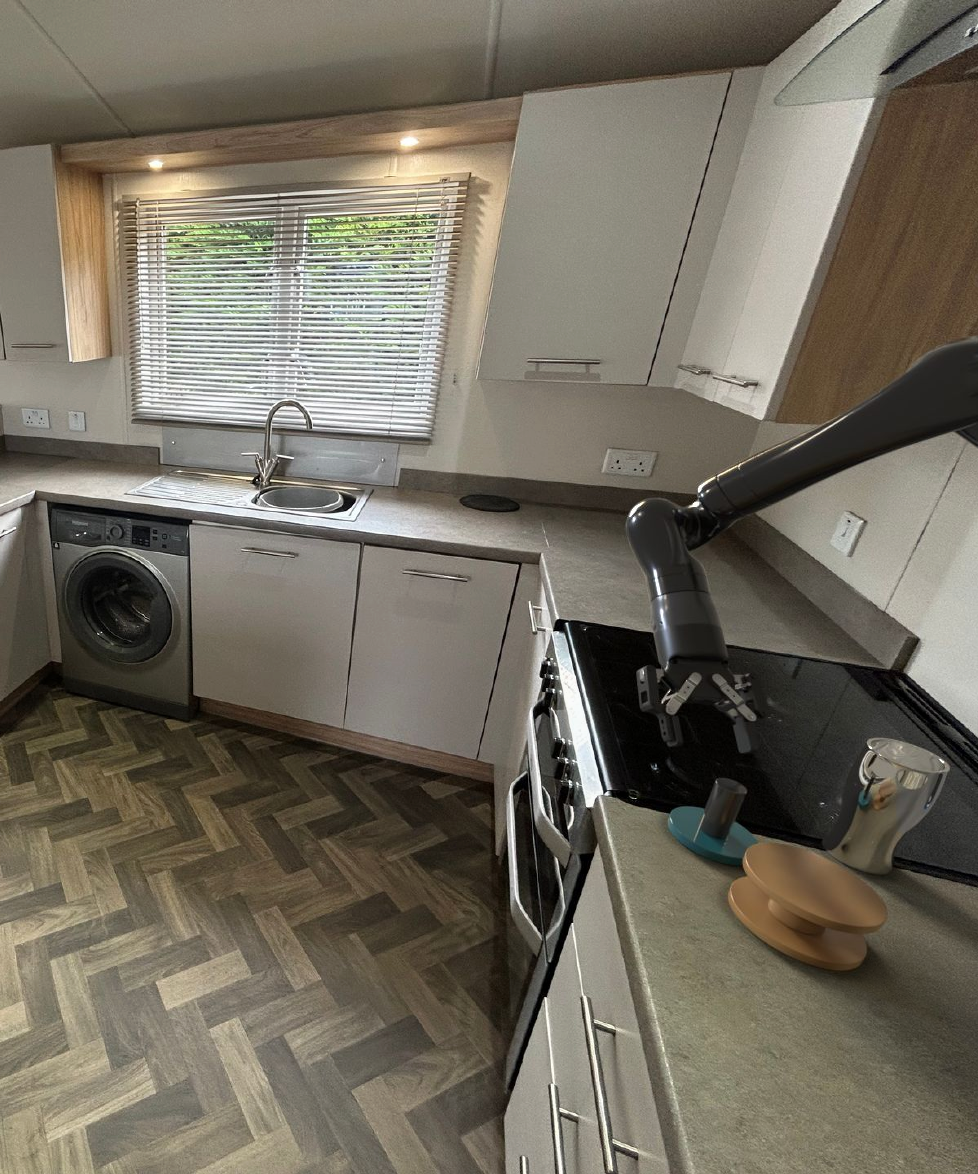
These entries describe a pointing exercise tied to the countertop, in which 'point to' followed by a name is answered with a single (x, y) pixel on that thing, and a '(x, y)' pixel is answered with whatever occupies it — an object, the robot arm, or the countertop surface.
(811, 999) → the countertop surface
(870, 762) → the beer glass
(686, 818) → the disc
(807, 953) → the stand
